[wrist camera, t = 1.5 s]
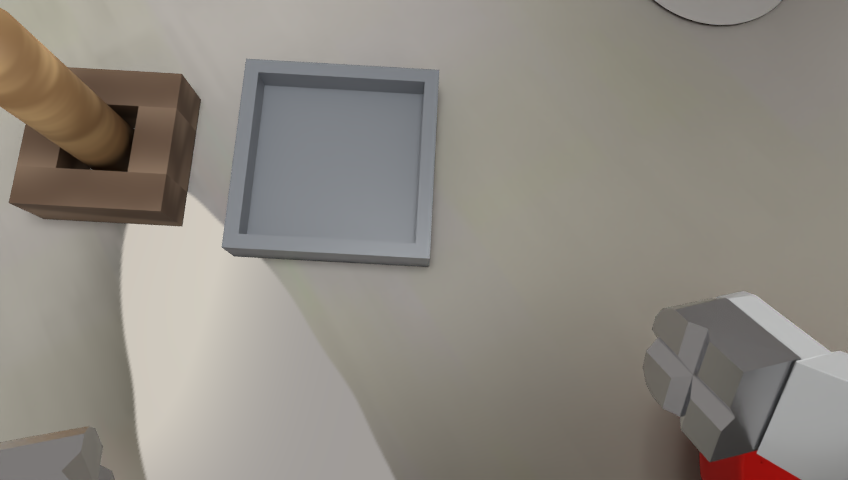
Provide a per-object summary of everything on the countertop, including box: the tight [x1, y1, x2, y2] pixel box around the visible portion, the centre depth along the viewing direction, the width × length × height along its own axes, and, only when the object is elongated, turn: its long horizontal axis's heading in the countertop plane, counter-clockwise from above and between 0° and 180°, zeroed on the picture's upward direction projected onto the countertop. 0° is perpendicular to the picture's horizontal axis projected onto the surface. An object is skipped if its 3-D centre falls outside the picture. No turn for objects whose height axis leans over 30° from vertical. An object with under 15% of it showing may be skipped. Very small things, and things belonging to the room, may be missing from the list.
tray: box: [222, 59, 439, 267], centre depth 45 cm, size 14×14×3 cm
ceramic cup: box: [699, 450, 801, 480], centre depth 37 cm, size 13×17×10 cm
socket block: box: [9, 67, 201, 226], centre depth 44 cm, size 10×10×4 cm
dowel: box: [0, 8, 135, 172], centre depth 38 cm, size 4×4×16 cm
